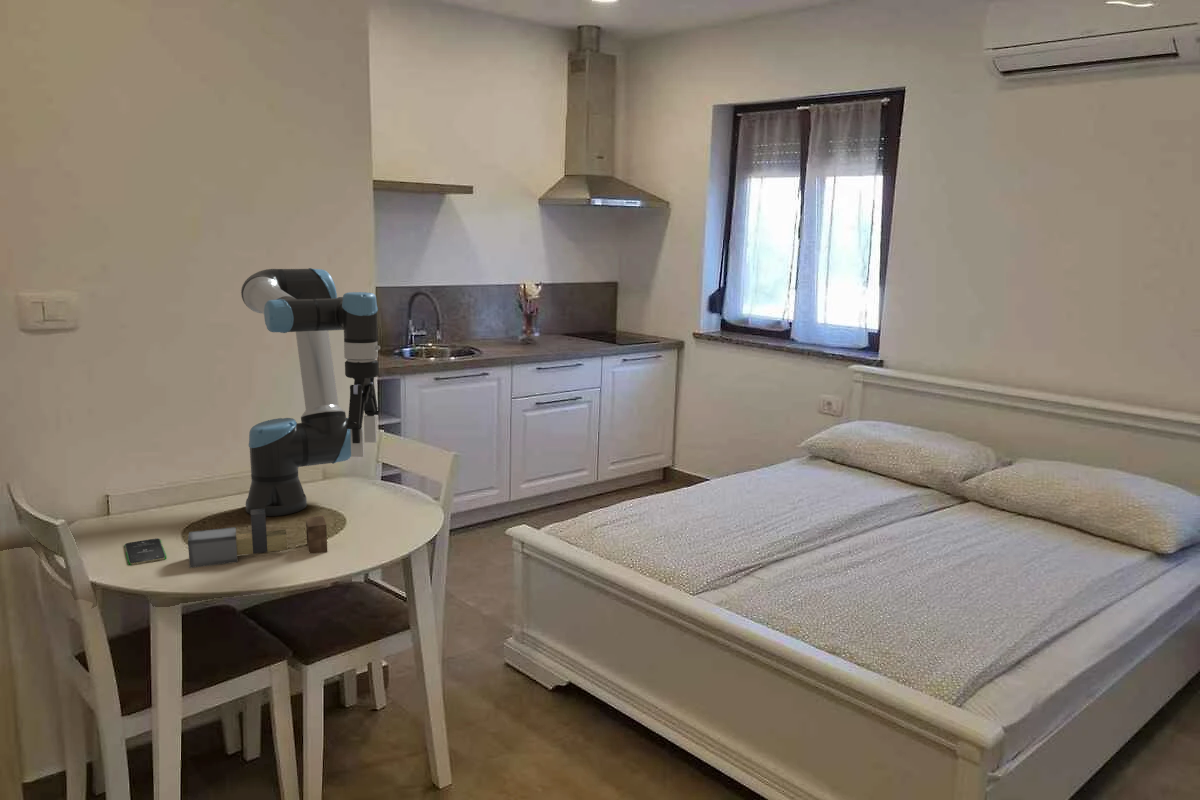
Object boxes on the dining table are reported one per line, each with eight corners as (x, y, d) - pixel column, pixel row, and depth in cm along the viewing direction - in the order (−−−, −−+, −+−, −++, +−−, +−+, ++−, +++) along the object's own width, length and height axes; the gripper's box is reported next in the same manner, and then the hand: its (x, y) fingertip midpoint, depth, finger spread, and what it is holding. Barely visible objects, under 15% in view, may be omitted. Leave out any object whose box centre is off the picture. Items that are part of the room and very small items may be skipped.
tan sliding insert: (197, 560, 187) (194, 520, 185) (197, 554, 191) (195, 515, 189) (287, 549, 194) (285, 511, 192) (286, 544, 198) (284, 506, 196)
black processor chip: (128, 563, 186) (123, 542, 198) (128, 567, 186) (123, 546, 199) (167, 557, 190) (159, 537, 202) (167, 561, 190) (160, 541, 202)
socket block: (309, 554, 195) (308, 526, 194) (307, 544, 201) (305, 517, 200) (327, 551, 196) (326, 524, 195) (324, 542, 203) (323, 515, 201)
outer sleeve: (189, 567, 186) (187, 541, 184) (191, 557, 191) (189, 532, 190) (237, 562, 189) (235, 536, 188) (237, 552, 195) (235, 527, 194)
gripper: (366, 368, 186) (368, 462, 190) (388, 352, 211) (390, 436, 215) (330, 367, 186) (334, 462, 190) (357, 352, 210) (360, 436, 214)
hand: (364, 449), depth 202 cm, fingers open, 13 cm apart
